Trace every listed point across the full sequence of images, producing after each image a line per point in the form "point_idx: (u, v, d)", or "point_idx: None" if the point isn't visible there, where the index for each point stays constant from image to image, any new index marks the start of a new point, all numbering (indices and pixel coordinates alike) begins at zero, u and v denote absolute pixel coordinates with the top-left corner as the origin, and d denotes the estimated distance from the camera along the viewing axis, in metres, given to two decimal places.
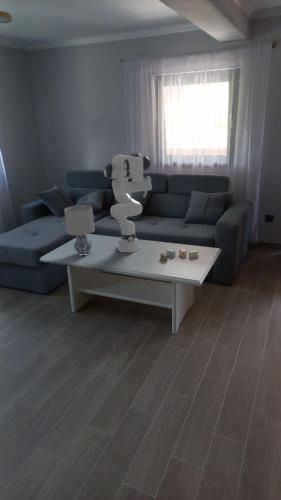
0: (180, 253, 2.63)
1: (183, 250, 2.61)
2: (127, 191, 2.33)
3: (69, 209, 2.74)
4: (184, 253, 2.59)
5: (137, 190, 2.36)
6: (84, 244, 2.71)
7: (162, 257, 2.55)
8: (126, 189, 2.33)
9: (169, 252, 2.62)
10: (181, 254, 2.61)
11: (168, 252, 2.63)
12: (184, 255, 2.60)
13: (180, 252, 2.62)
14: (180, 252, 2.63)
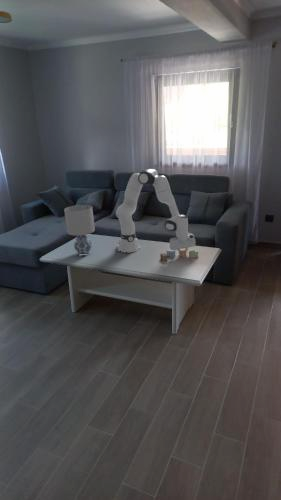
0: None
1: (183, 250, 2.61)
2: None
3: (69, 209, 2.74)
4: (184, 253, 2.59)
5: None
6: (84, 244, 2.71)
7: (162, 257, 2.55)
8: None
9: (169, 252, 2.62)
10: (181, 254, 2.61)
11: (168, 252, 2.63)
12: (184, 255, 2.60)
13: None
14: None
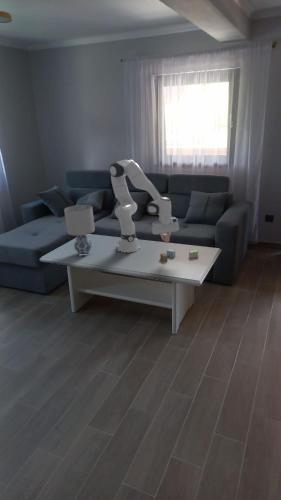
0: None
1: (166, 234, 2.52)
2: None
3: (69, 209, 2.74)
4: (167, 237, 2.50)
5: None
6: (84, 244, 2.71)
7: (162, 257, 2.55)
8: None
9: (169, 252, 2.62)
10: (164, 238, 2.52)
11: (168, 252, 2.63)
12: (167, 239, 2.51)
13: None
14: None
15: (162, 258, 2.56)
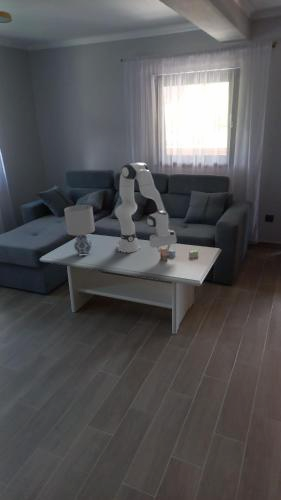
0: (161, 251, 2.55)
1: (164, 248, 2.54)
2: None
3: (69, 209, 2.74)
4: (165, 251, 2.52)
5: None
6: (84, 244, 2.71)
7: (162, 257, 2.55)
8: None
9: (169, 252, 2.62)
10: (162, 252, 2.54)
11: (168, 252, 2.63)
12: (165, 253, 2.53)
13: (161, 250, 2.55)
14: None
15: (162, 258, 2.56)
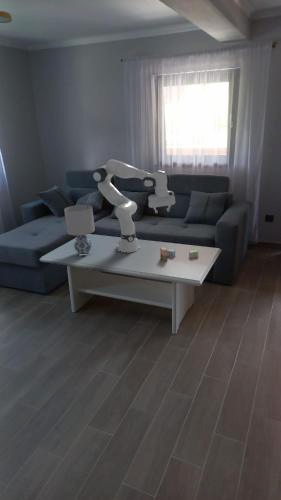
0: (161, 251, 2.56)
1: (164, 248, 2.54)
2: None
3: (69, 209, 2.74)
4: (165, 251, 2.52)
5: None
6: (84, 244, 2.71)
7: (162, 257, 2.55)
8: None
9: (169, 252, 2.62)
10: (162, 252, 2.54)
11: (168, 252, 2.63)
12: (165, 253, 2.53)
13: (161, 250, 2.55)
14: (160, 251, 2.56)
15: (162, 258, 2.56)
